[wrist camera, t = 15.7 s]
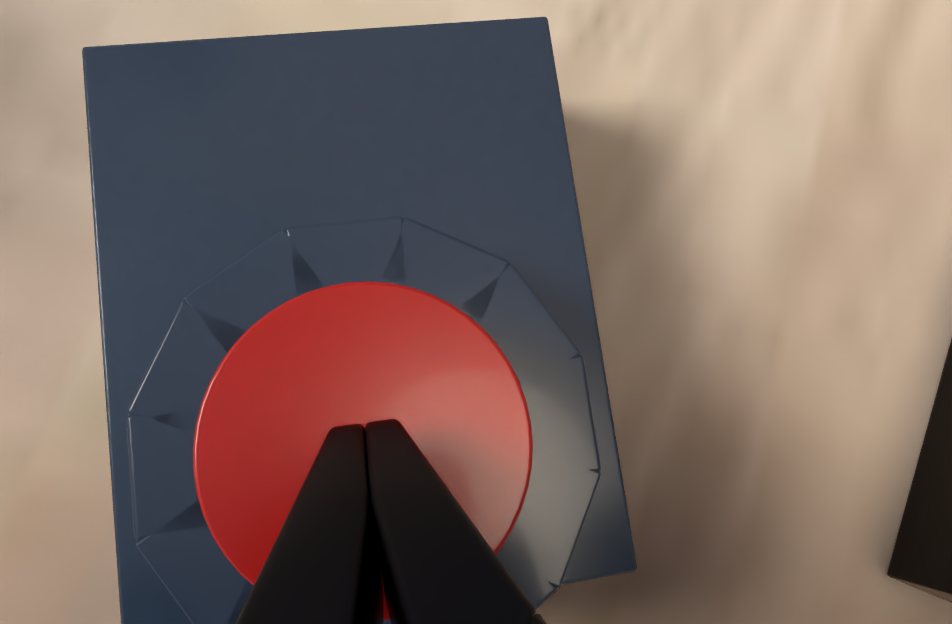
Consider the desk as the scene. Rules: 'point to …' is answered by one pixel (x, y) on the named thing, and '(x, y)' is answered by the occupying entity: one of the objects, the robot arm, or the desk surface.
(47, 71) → the desk surface
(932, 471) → the light box
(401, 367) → the button
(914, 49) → the desk surface
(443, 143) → the box
